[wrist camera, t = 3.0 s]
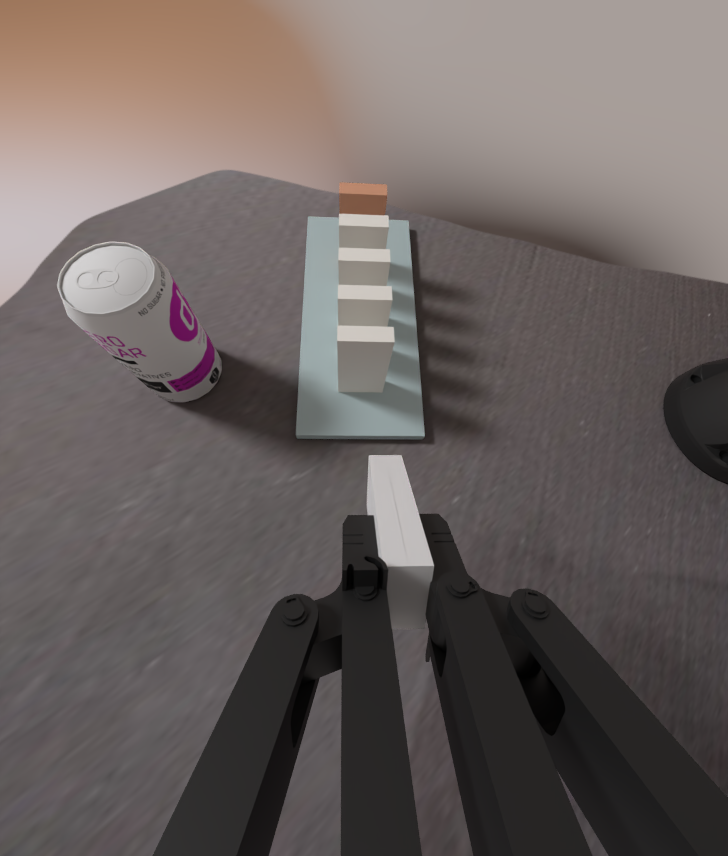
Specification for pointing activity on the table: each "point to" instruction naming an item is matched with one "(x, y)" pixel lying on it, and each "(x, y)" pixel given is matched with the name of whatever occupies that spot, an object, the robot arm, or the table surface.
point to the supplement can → (140, 319)
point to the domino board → (318, 372)
